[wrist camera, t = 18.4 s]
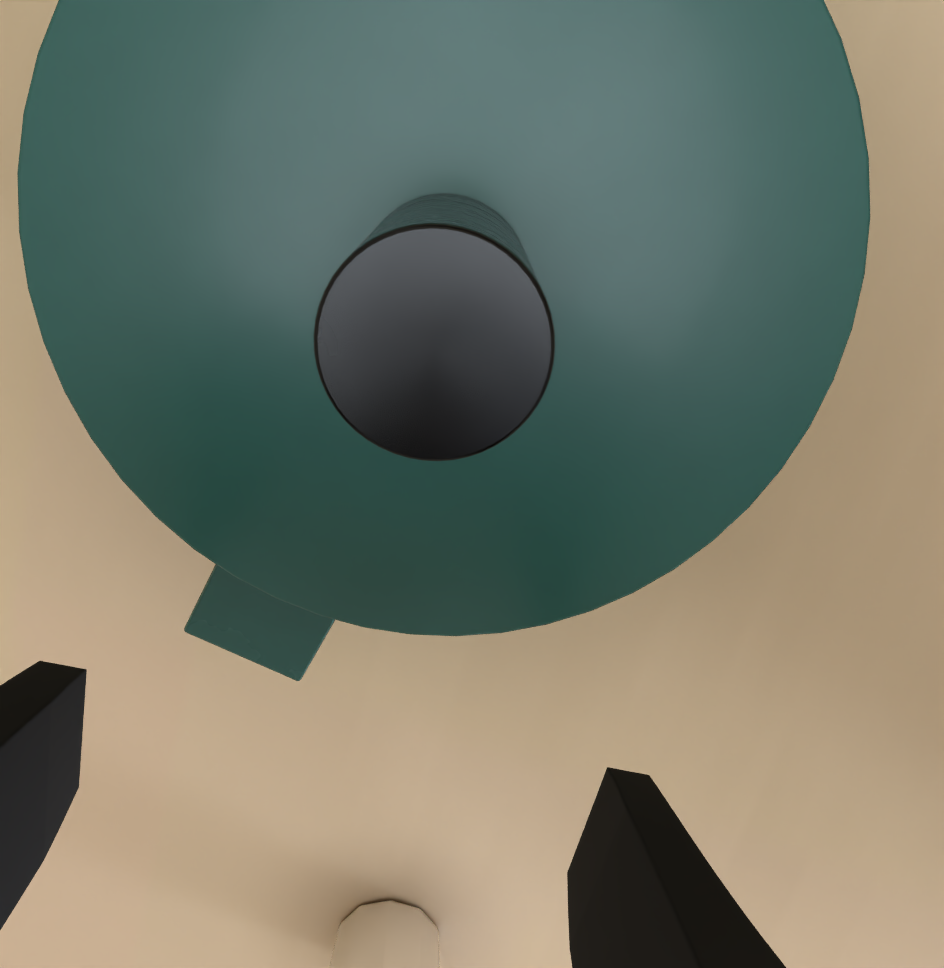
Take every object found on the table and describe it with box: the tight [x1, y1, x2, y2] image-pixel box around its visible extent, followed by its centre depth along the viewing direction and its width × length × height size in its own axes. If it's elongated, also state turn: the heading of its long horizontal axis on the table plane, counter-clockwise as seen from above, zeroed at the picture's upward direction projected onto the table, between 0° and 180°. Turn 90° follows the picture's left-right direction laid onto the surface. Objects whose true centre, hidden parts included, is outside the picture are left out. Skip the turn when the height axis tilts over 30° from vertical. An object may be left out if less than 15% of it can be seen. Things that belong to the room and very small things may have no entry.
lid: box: [18, 0, 870, 636], centre depth 11 cm, size 12×12×5 cm
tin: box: [184, 564, 335, 681], centre depth 15 cm, size 11×17×6 cm
